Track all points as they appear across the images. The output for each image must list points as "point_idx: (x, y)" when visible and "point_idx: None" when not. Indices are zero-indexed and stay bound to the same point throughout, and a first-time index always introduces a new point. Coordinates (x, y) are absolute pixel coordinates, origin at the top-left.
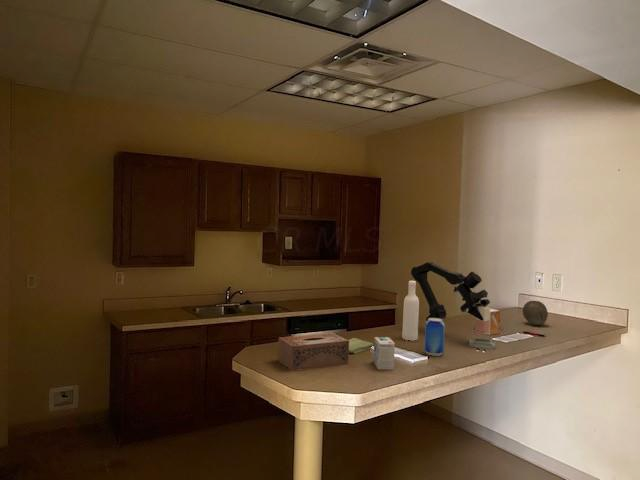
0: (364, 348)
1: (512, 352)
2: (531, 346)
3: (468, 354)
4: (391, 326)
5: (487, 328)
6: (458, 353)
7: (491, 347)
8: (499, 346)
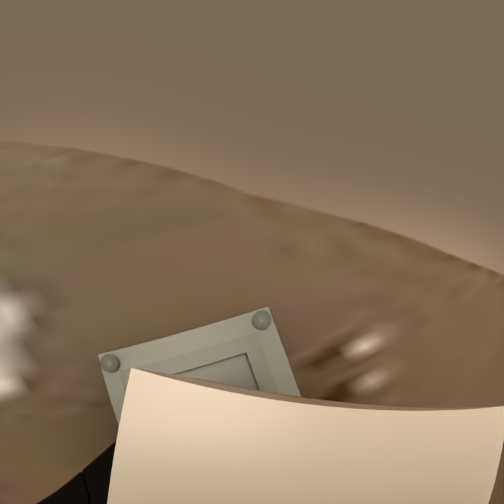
0: None
1: (248, 208)
2: (46, 174)
3: (468, 366)
4: None
5: (226, 384)
6: (483, 404)
7: (275, 328)
8: (157, 310)
